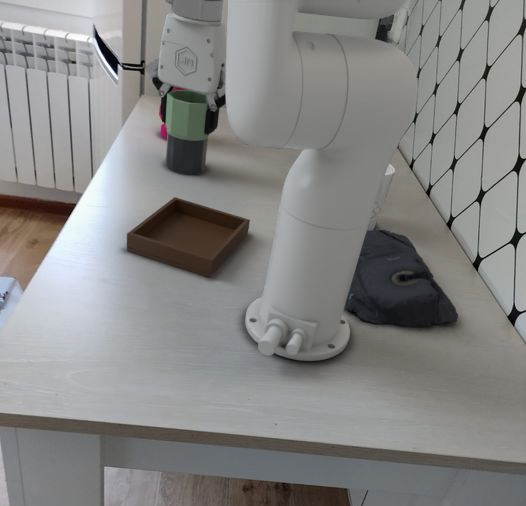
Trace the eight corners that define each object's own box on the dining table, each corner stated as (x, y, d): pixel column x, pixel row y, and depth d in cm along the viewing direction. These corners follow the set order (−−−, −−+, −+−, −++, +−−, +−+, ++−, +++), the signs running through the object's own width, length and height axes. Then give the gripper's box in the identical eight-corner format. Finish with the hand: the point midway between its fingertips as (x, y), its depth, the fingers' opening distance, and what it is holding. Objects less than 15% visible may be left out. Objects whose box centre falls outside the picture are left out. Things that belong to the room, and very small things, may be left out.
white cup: (376, 239, 93) (394, 179, 87) (328, 227, 94) (342, 167, 88) (378, 219, 100) (395, 162, 94) (333, 208, 100) (347, 151, 94)
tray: (210, 277, 76) (212, 260, 75) (126, 250, 79) (126, 233, 77) (247, 235, 88) (250, 219, 86) (173, 212, 90) (174, 196, 88)
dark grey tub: (194, 177, 101) (197, 143, 98) (159, 167, 102) (160, 133, 99) (210, 166, 107) (213, 133, 103) (176, 156, 108) (178, 123, 104)
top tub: (198, 144, 98) (201, 106, 94) (159, 133, 99) (161, 95, 95) (215, 133, 103) (218, 97, 99) (178, 122, 104) (180, 87, 101)
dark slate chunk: (415, 249, 93) (425, 222, 90) (461, 332, 76) (475, 302, 73) (321, 238, 91) (328, 210, 88) (346, 321, 73) (356, 289, 70)
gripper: (134, -2, 88) (131, 118, 99) (241, 24, 85) (227, 145, 96) (157, -5, 94) (152, 109, 105) (258, 19, 91) (243, 134, 102)
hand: (188, 125), depth 100 cm, fingers closed on top tub, 7 cm apart
